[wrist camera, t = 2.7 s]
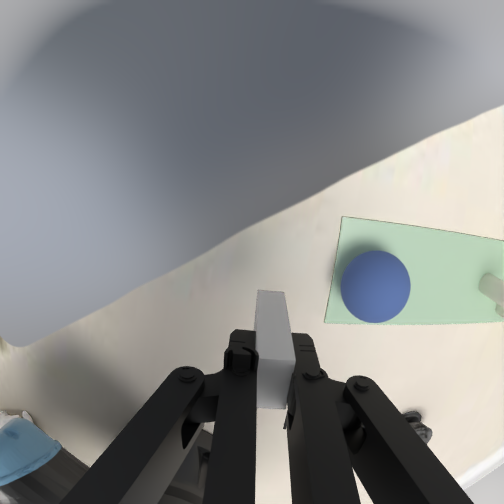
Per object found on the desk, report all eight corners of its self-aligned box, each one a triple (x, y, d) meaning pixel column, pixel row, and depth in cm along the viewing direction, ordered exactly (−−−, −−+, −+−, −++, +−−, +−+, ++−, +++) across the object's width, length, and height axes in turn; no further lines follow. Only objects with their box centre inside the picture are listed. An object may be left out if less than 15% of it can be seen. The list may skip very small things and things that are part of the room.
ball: (328, 302, 28) (344, 336, 22) (339, 239, 26) (360, 259, 20) (385, 305, 28) (411, 336, 22) (399, 245, 26) (431, 266, 20)
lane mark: (324, 322, 28) (324, 323, 28) (342, 216, 25) (342, 216, 25) (528, 318, 28) (529, 319, 28) (548, 250, 26) (549, 250, 26)
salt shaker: (399, 408, 32) (433, 478, 20) (430, 410, 32) (465, 472, 21) (376, 438, 33) (400, 506, 22) (407, 439, 34) (434, 500, 22)
